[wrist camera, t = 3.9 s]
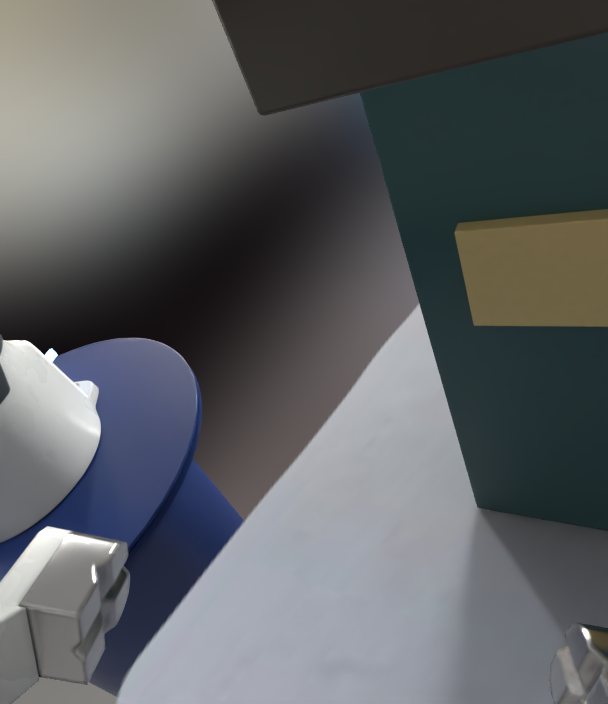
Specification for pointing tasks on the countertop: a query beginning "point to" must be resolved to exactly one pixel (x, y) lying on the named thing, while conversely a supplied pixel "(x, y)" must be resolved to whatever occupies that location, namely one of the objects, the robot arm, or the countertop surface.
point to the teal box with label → (512, 264)
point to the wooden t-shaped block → (385, 40)
